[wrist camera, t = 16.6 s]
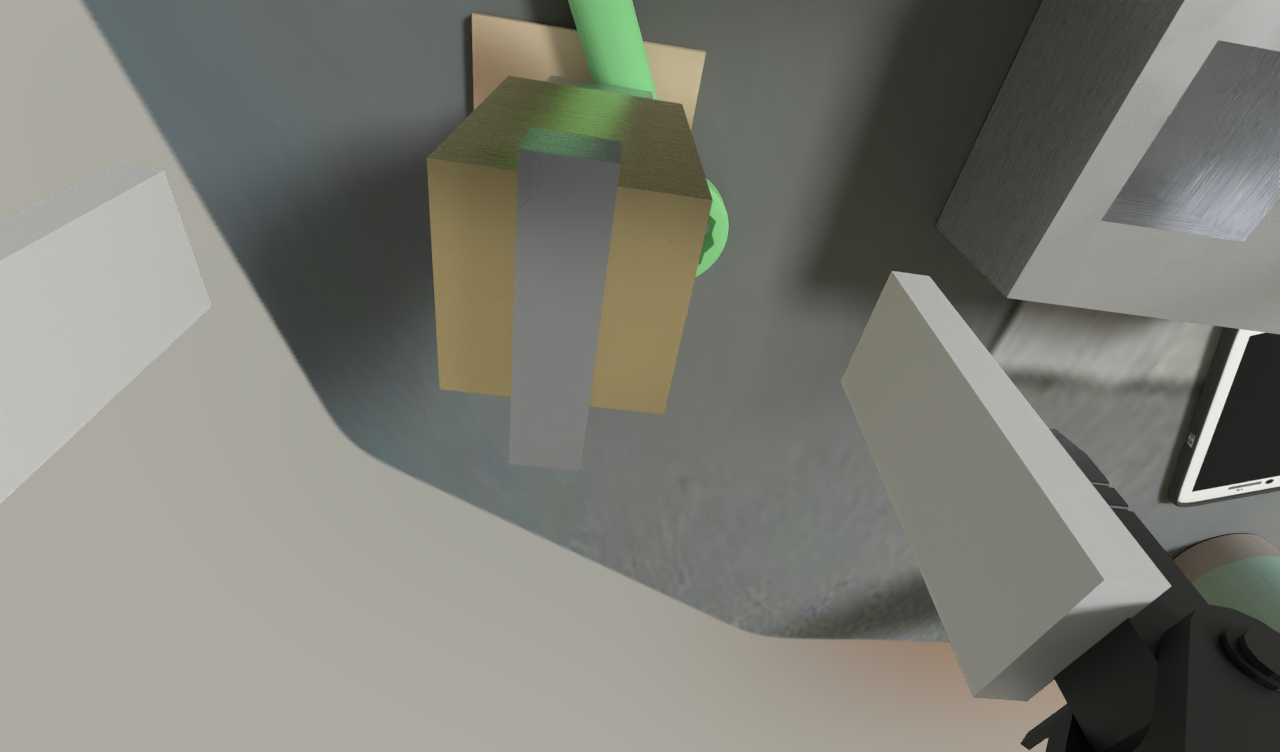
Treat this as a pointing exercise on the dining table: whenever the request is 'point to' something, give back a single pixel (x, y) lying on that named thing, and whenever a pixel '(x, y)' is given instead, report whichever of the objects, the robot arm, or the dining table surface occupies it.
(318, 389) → the dining table surface
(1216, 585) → the coffee cup
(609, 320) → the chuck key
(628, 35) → the wrench
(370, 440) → the dining table surface
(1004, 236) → the block
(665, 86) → the key mat
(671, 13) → the dining table surface
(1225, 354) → the cell phone
